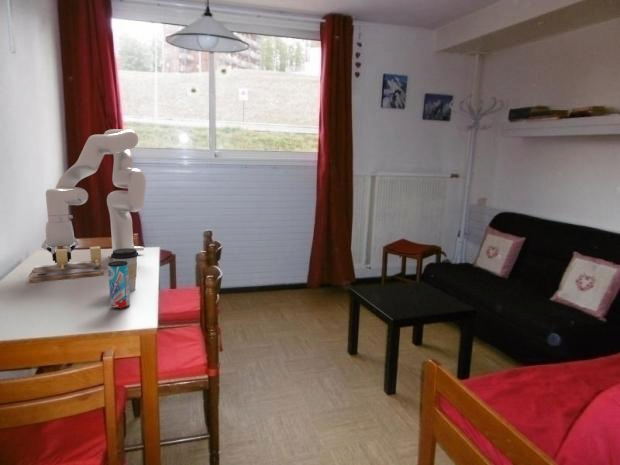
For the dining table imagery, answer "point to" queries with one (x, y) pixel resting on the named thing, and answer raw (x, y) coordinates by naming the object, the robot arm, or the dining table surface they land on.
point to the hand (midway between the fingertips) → (62, 261)
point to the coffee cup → (131, 258)
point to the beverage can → (119, 284)
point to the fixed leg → (95, 255)
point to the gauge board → (65, 271)
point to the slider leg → (61, 258)
